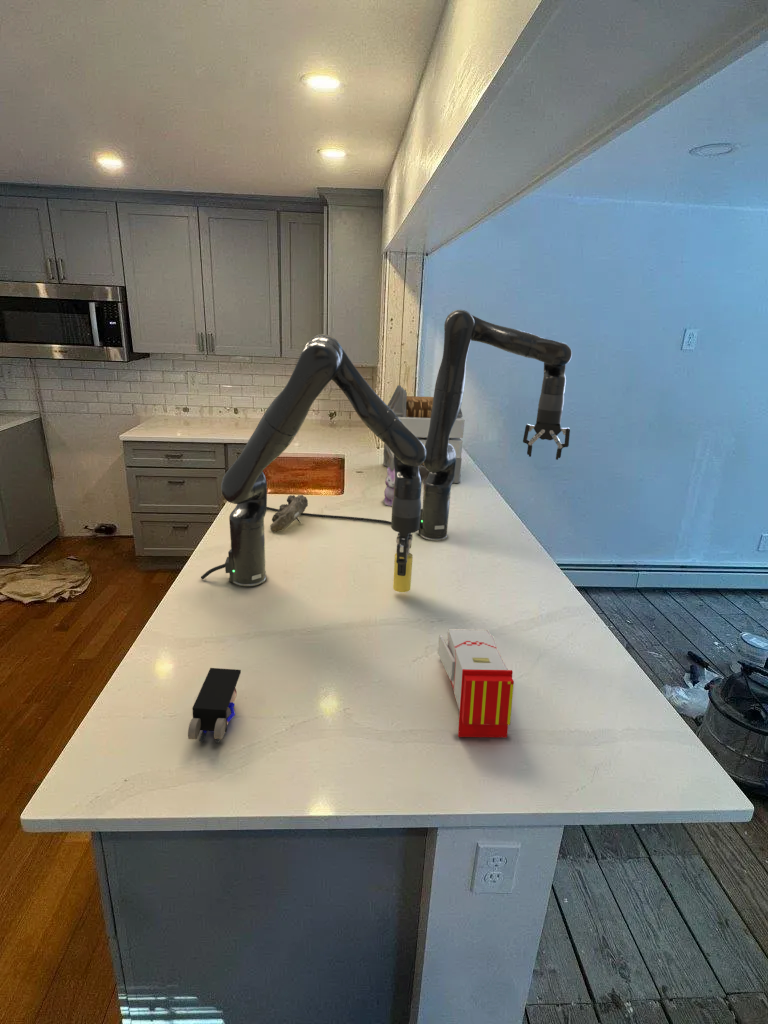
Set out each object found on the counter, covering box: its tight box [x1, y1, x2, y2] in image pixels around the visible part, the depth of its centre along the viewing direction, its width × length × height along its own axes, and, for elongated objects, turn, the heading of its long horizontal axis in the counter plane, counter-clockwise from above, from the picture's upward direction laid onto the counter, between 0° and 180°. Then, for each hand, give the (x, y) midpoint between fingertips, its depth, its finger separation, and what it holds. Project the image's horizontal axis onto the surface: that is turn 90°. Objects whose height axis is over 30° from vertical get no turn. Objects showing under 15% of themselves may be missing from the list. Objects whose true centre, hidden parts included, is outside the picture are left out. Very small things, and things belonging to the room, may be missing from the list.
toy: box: [437, 628, 515, 738], centre depth 117 cm, size 12×13×30 cm
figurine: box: [383, 467, 395, 507], centre depth 229 cm, size 9×10×15 cm
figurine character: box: [187, 667, 241, 744], centre depth 105 cm, size 7×8×15 cm
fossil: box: [270, 494, 309, 533], centre depth 203 cm, size 22×10×15 cm
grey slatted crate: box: [383, 384, 465, 484], centre depth 268 cm, size 34×33×41 cm
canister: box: [392, 552, 414, 593], centre depth 154 cm, size 5×5×10 cm
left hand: (402, 570), depth 154 cm, fingers closed on canister, 5 cm apart
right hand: (543, 457), depth 185 cm, fingers open, 8 cm apart
